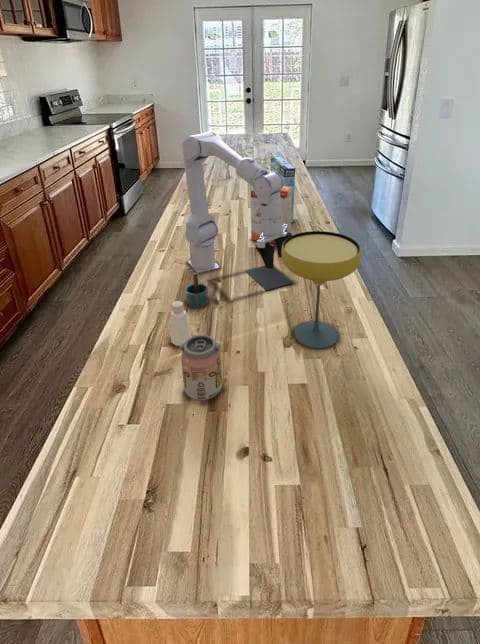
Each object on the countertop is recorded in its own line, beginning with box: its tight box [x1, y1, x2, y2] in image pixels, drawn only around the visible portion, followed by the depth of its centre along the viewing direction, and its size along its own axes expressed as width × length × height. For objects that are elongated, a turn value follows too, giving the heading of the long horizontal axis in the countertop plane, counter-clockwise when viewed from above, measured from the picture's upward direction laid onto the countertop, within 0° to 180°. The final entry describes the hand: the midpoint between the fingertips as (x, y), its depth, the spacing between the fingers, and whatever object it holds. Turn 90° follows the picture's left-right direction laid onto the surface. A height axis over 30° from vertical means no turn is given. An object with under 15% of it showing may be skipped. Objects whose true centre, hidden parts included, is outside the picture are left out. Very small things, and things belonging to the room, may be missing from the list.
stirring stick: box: [192, 271, 199, 294], centre depth 123 cm, size 1×1×9 cm
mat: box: [244, 265, 294, 292], centre depth 135 cm, size 14×22×1 cm, turn 116°
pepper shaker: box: [170, 300, 192, 347], centre depth 107 cm, size 5×5×11 cm
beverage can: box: [179, 334, 223, 402], centre depth 92 cm, size 9×8×12 cm
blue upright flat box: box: [270, 156, 296, 223], centre depth 183 cm, size 20×5×23 cm, turn 13°
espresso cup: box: [185, 283, 209, 308], centre depth 125 cm, size 6×6×4 cm
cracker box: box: [250, 186, 292, 244], centre depth 159 cm, size 14×6×21 cm, turn 68°
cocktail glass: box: [281, 230, 362, 350], centre depth 105 cm, size 18×18×25 cm
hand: (276, 262), depth 124 cm, fingers open, 7 cm apart
